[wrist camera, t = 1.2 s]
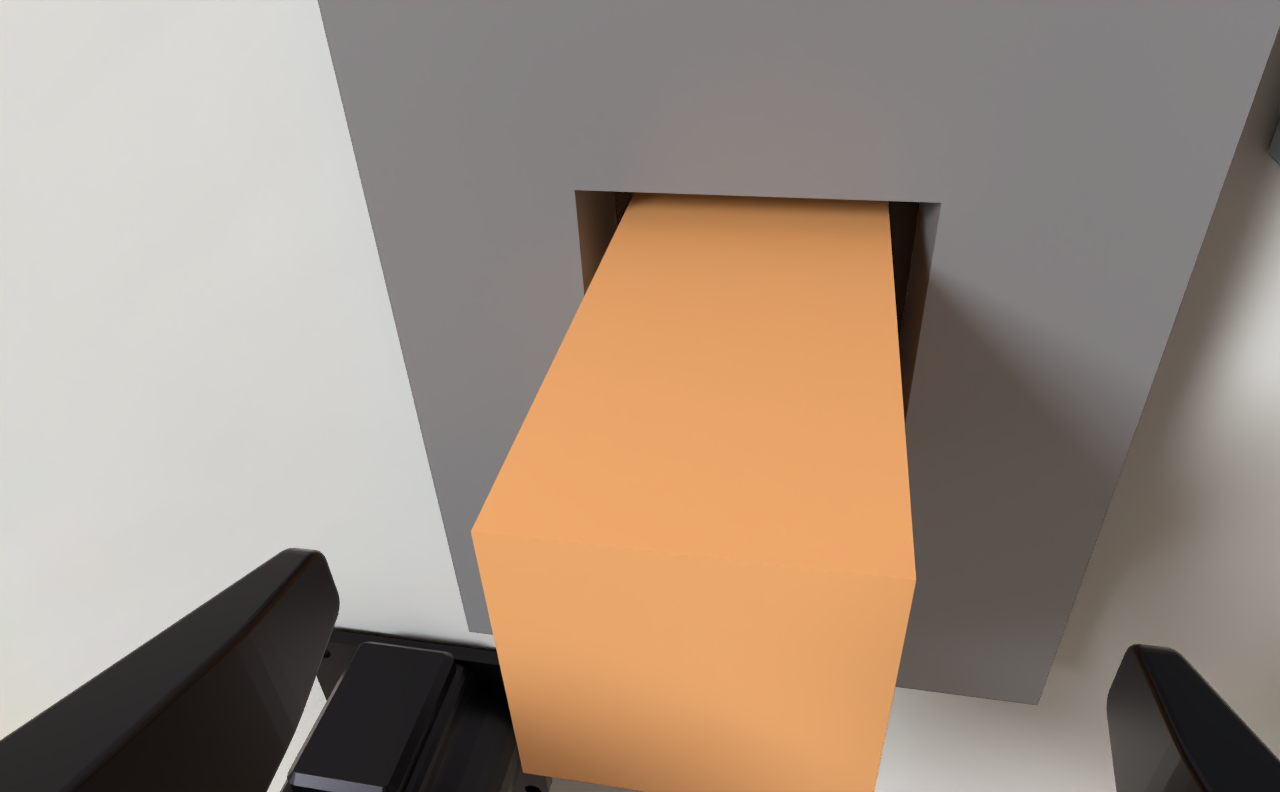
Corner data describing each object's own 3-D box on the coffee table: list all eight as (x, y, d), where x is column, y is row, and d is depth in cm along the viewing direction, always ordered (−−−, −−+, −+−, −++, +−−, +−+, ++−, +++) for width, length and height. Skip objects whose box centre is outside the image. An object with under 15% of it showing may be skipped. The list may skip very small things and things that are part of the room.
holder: (1019, 608, 20) (1037, 704, 18) (504, 551, 22) (469, 631, 20) (1298, -307, 10) (1402, -318, 8) (351, -251, 13) (257, -249, 11)
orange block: (861, 371, 17) (867, 826, 10) (655, 358, 18) (523, 773, 11) (886, 172, 15) (916, 579, 8) (647, 165, 15) (470, 531, 8)
